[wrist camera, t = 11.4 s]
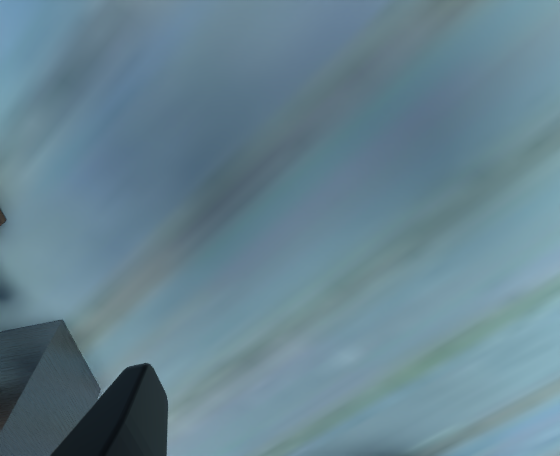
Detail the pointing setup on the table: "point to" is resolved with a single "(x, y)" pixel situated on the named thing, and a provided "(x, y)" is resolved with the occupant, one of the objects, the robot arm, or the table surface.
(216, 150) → the table surface
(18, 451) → the coupling block
